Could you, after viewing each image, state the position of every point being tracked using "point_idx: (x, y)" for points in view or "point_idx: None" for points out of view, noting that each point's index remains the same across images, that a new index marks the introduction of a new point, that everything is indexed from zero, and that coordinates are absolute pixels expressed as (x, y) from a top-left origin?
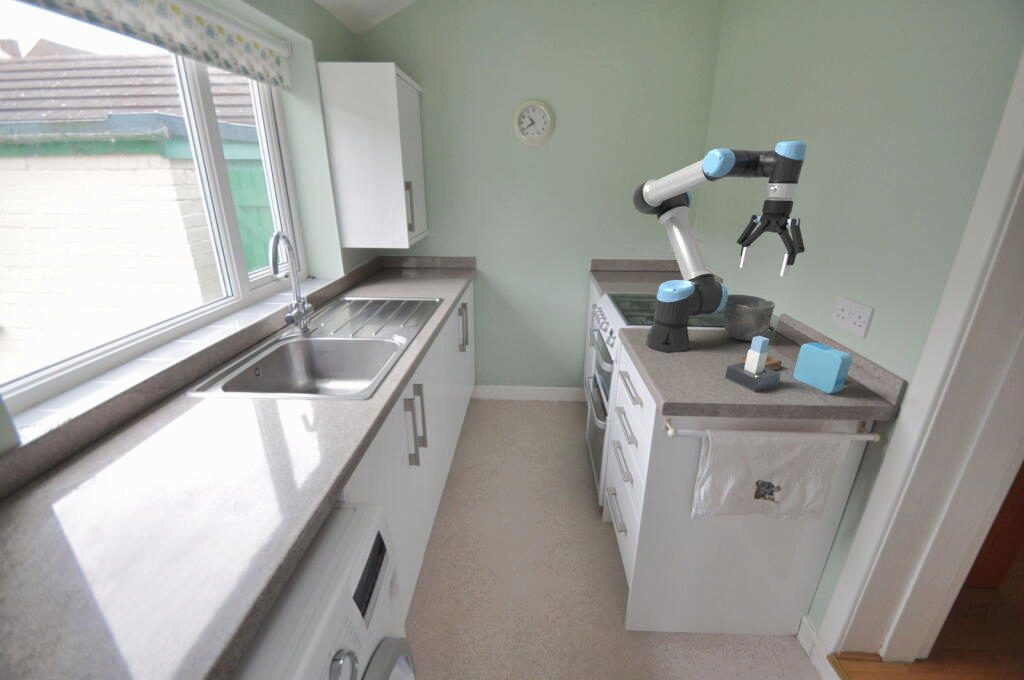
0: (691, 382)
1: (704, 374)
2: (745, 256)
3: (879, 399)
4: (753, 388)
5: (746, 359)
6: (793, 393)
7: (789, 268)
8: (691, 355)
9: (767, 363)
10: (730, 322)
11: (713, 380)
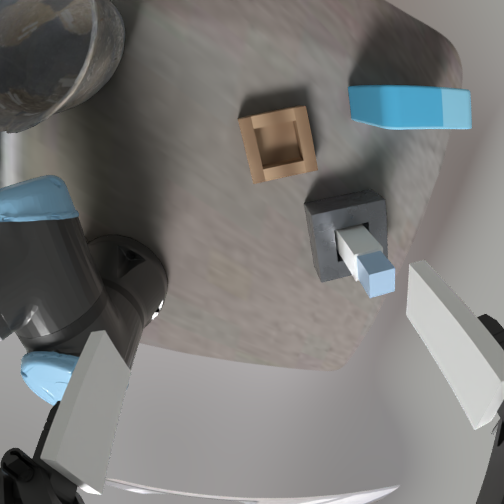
0: (305, 324)
1: (282, 288)
2: (105, 425)
3: (449, 46)
4: None
5: (348, 268)
6: (398, 178)
7: (450, 293)
8: (182, 259)
9: (310, 156)
10: (64, 110)
11: (310, 287)
